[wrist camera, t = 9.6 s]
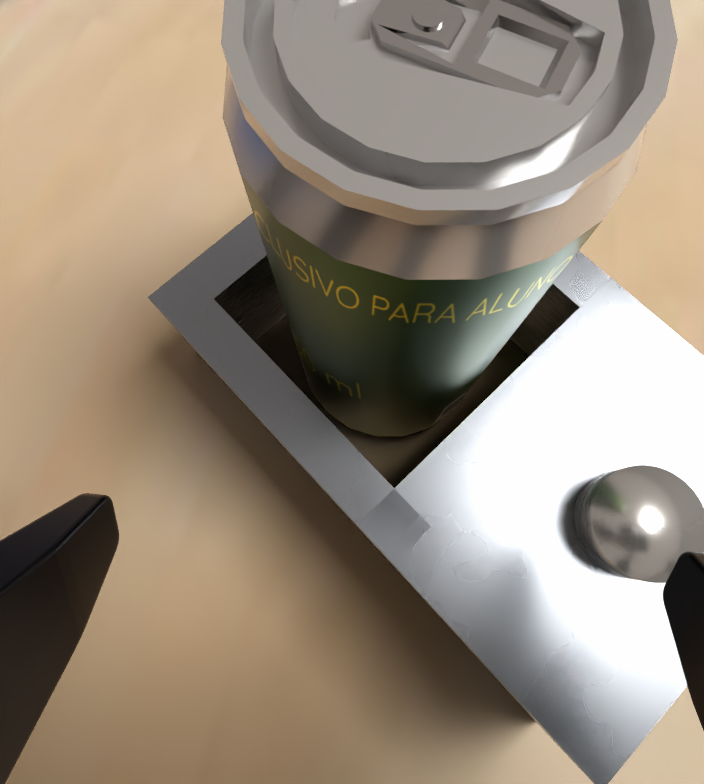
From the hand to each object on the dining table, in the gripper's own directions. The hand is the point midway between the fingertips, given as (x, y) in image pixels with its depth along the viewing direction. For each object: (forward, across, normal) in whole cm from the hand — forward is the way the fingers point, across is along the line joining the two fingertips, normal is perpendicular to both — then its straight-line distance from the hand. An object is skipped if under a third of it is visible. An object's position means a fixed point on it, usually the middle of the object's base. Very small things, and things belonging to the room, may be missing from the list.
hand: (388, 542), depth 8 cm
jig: (+8, -2, +3) cm, 9 cm away
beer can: (+10, 0, +2) cm, 10 cm away
